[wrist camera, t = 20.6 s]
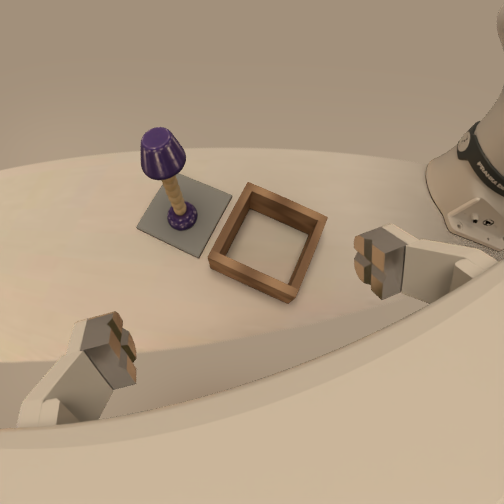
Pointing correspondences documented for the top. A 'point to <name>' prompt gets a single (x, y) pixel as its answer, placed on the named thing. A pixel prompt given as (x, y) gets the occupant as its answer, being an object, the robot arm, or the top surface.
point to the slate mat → (209, 213)
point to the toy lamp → (167, 173)
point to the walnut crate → (279, 211)
